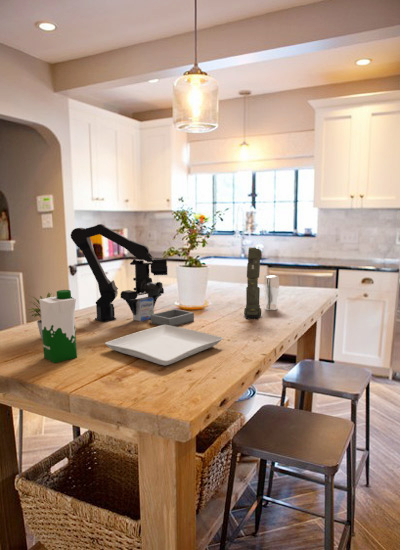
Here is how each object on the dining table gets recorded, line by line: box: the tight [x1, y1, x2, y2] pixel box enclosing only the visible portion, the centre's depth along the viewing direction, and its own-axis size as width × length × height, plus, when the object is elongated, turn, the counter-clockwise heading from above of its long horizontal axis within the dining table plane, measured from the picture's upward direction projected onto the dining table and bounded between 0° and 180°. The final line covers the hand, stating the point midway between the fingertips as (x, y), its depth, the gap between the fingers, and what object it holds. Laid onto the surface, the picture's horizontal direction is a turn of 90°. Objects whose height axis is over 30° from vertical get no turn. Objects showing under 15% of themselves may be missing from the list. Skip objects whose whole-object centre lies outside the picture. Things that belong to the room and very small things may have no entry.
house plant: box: [28, 292, 57, 341], centre depth 141 cm, size 14×14×16 cm
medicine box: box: [132, 296, 155, 322], centre depth 167 cm, size 8×4×9 cm, turn 143°
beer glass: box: [263, 274, 280, 311], centre depth 183 cm, size 7×7×15 cm
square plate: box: [104, 325, 224, 366], centre depth 128 cm, size 27×27×4 cm
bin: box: [150, 308, 195, 327], centre depth 161 cm, size 14×11×4 cm
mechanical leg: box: [243, 247, 263, 320], centre depth 171 cm, size 14×7×30 cm, turn 168°
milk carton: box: [38, 289, 78, 364], centre depth 120 cm, size 9×9×20 cm
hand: (143, 313), depth 167 cm, fingers open, 9 cm apart
